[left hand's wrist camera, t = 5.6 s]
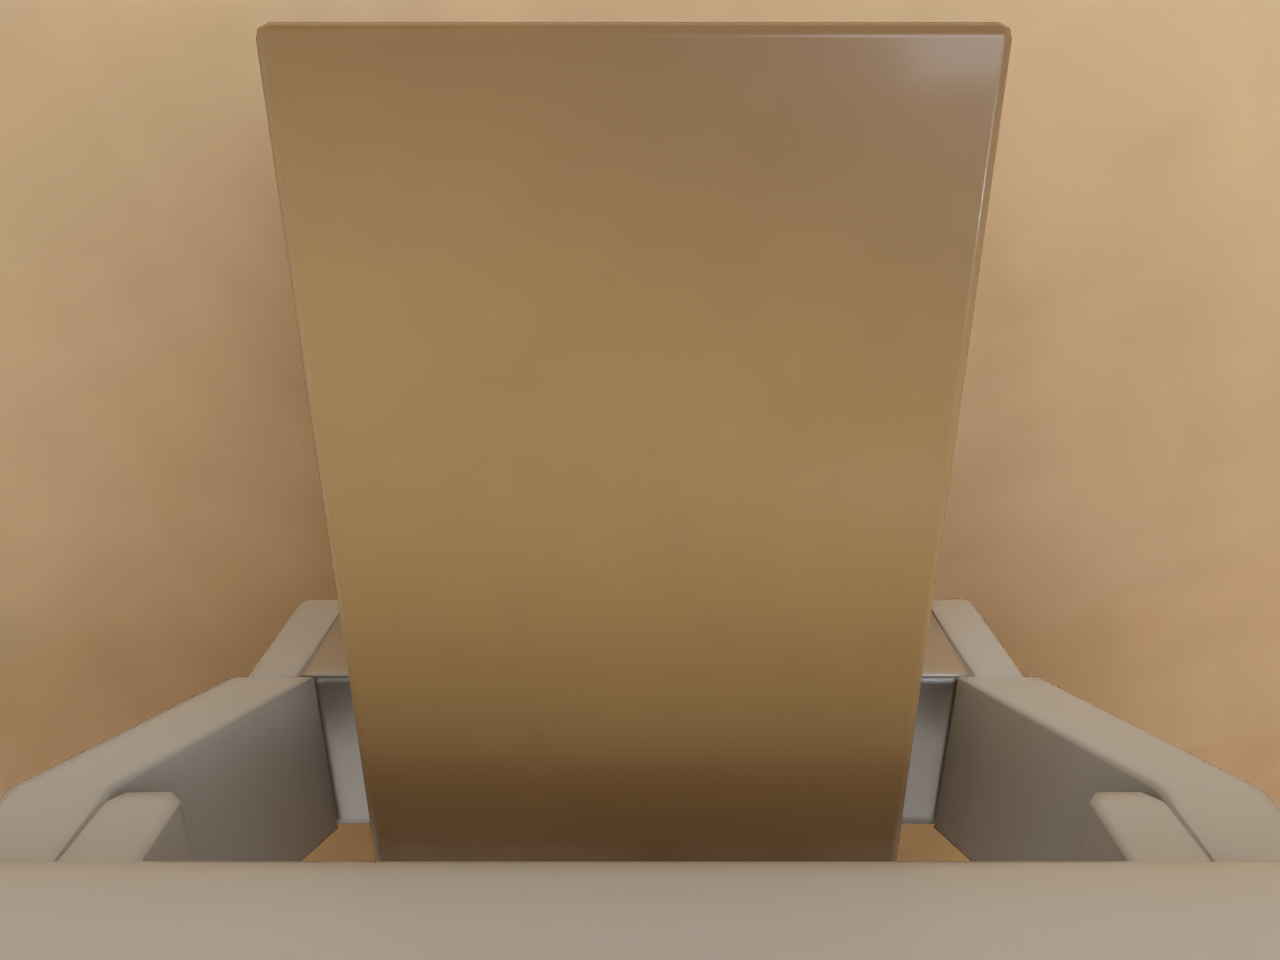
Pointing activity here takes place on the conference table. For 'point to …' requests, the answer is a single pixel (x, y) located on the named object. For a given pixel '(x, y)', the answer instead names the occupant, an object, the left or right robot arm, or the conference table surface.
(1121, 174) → the conference table surface
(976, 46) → the beam
